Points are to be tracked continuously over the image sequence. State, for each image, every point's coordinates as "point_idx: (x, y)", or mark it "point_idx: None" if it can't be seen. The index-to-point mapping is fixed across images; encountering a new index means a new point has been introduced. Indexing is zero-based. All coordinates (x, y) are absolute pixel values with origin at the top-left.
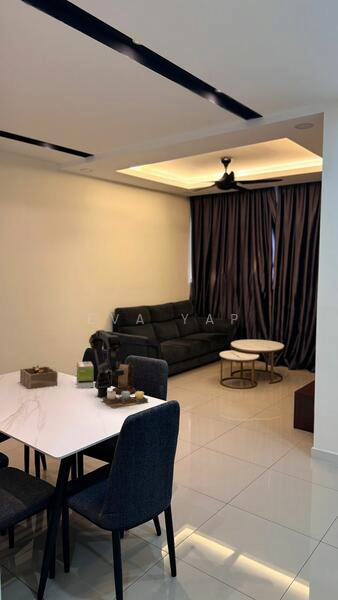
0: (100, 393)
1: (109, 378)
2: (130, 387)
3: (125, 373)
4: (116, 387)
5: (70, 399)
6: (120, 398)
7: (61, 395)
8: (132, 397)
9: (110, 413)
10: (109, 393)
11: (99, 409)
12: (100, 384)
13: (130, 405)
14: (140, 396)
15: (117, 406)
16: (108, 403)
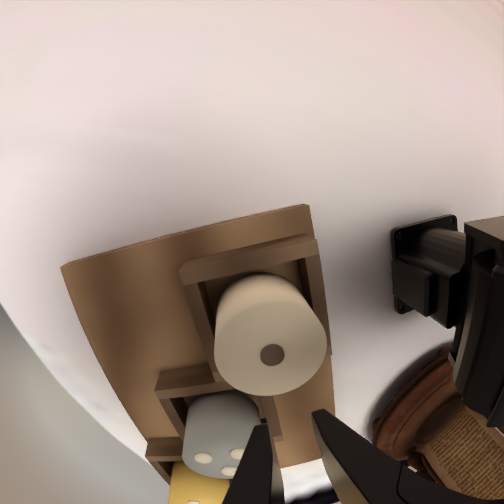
0: (436, 248)
1: (361, 499)
2: (414, 454)
3: (476, 493)
4: None
5: (438, 46)
6: (221, 389)
7: (493, 53)
8: None
9: (30, 227)
10: (229, 319)
11: (127, 158)
12: (491, 264)
13: (127, 401)
14: (170, 487)
15: (110, 316)
16: (186, 261)
